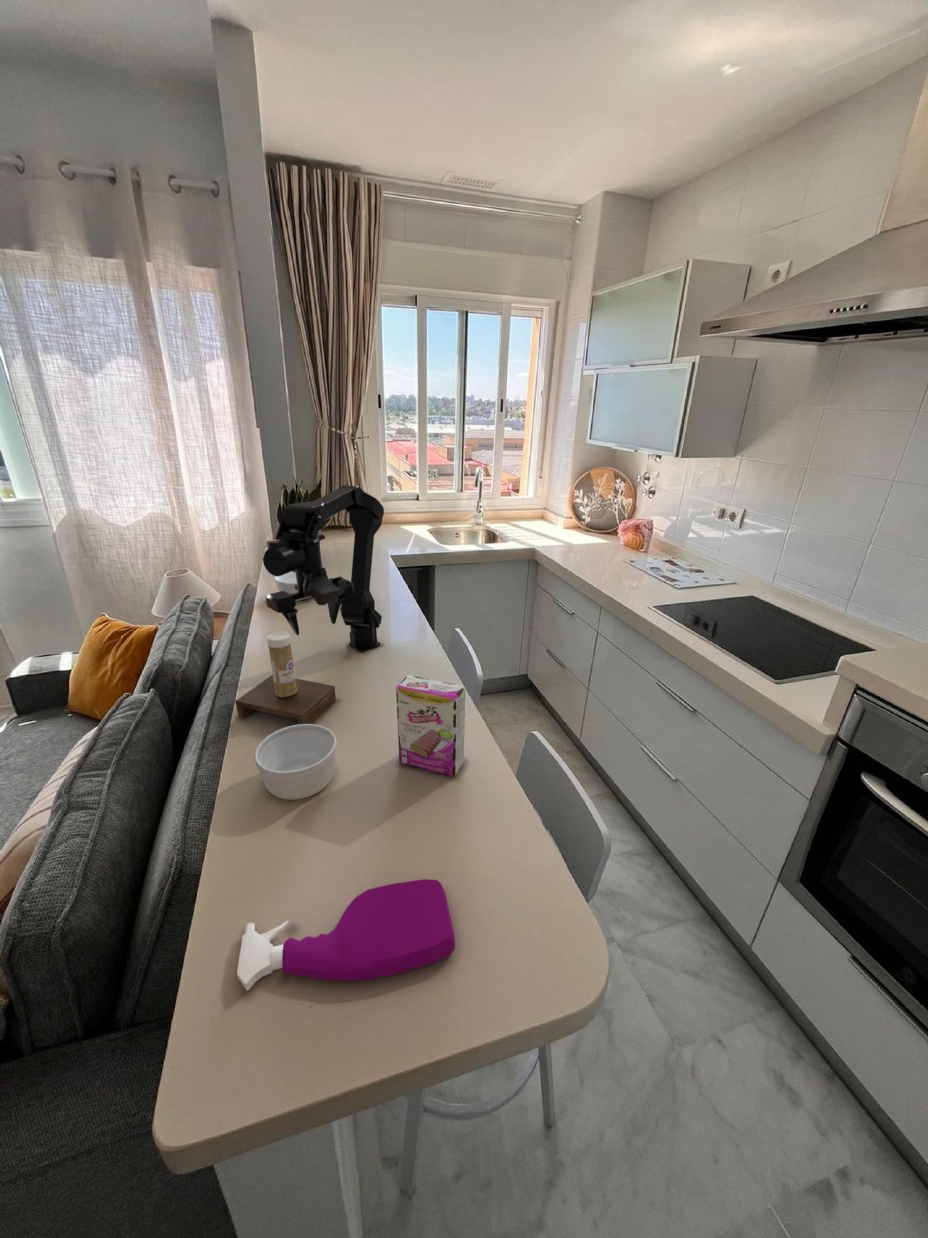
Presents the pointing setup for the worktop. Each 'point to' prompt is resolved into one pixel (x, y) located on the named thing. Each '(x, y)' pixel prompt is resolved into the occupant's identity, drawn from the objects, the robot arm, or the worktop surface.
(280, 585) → the cereal bowl
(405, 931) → the spray bottle
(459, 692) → the candy bar box
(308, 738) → the ramekin
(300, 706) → the shelf
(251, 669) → the worktop surface
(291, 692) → the sprinkles bottle
